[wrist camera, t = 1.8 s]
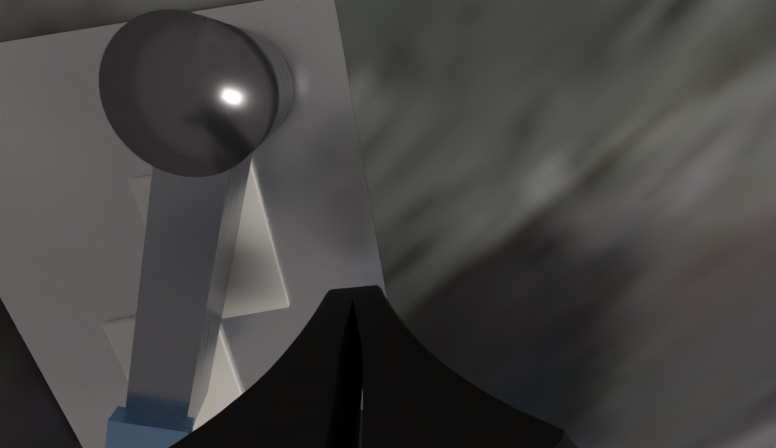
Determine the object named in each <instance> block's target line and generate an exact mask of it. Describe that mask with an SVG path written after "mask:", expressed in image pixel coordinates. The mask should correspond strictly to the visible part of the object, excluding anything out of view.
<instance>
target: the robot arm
mask: <svg viewBox="0 0 776 448" xmlns="http://www.w3.org/2000/svg"><path fill="white" fill-rule="evenodd" d="M362 390H363V426H362V448H578V447H577V446H576V445H575V443H574V442H573V441H572V440H571V438H570V437H569V436H568V434H567V433H566V432H565V431H564V430H563V429H561V428H558V427H556V426H554V425H552V424H549V423H547V422H545V421H542V420H540V419H538V418H536V417H533V416H531V415H529V414H526V413H524V412H522V411H520V410H518V409H516V408H514V407H512V406H510V405H508V404H506V403H504V402H502V401H500V400H499V399H497V398H495V397H493V396H491V395H489V394H488V393H486V392H484V391H483V390H481V389H479V388H478V387H476V386H475V385H473V384H472V383H470V382H469V381H467V380H466V379H464V378H463V377H461V376H460V375H458V374H457V373H456V372H454V371H453V370H452V369H450V368H449V367H448V366H447V365H445V364H444V363H443V362H442V361H441V360H439V359H438V358H437V357H436V356H435V355H434V354H433V353H432V352H431V351H429V350H428V349H427V348H426V347H425V346H424V345H423V344H422V343H421V342H420V341H419V339H418V338H417V337H416V336H415V335H414V334H413V333H412V332H411V331H410V330H409V328H408V327H407V326H406V325H405V324H404V322H403V321H402V320H401V319H400V317H399V316H398V315H397V313H396V312H395V311H394V309H393V308H392V306H391V305H390V303H389V302H388V300H387V299H386V297H385V295H384V293H383V291H382V288H380V287H379V286H378V285H372V286H361V287H351V288H340V289H330V290H329V291H328V292H327V293H326V295H325V296H324V298H323V300H322V301H321V303H320V305H319V306H318V308H317V309H316V311H315V313H314V314H313V316H312V317H311V319H310V320H309V321H308V323H307V324H306V325H305V327H304V328H303V330H302V331H301V332H300V334H299V335H298V336H297V338H296V339H295V340H294V341H293V343H292V344H291V345H290V346H289V347H288V349H287V350H286V351H285V352H284V353H283V355H282V356H281V357H280V358H279V359H278V360H277V361H276V363H275V364H274V365H273V366H272V367H271V368H270V369H269V370H268V371H267V372H266V373H265V374H264V375H263V376H262V377H261V378H260V379H259V380H258V381H257V382H256V383H254V384H253V385H252V386H251V387H250V388H249V389H248V390H246V391H245V392H244V393H243V394H241V395H240V396H239V397H238V398H237V399H235V400H234V401H233V402H232V403H231V404H229V405H228V406H227V407H226V408H224V409H223V410H222V411H221V412H219V413H218V414H217V415H215V416H214V417H213V418H211V419H210V420H208V421H207V422H206V423H204V424H203V425H202V426H200V427H199V428H197V429H196V430H194V431H193V432H191V433H190V434H188V435H187V436H185V437H184V438H182V439H181V440H179V441H178V442H176V443H175V444H173V445H172V446H170V447H168V448H358V447H359V431H360V416H361V400H362Z"/></svg>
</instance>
